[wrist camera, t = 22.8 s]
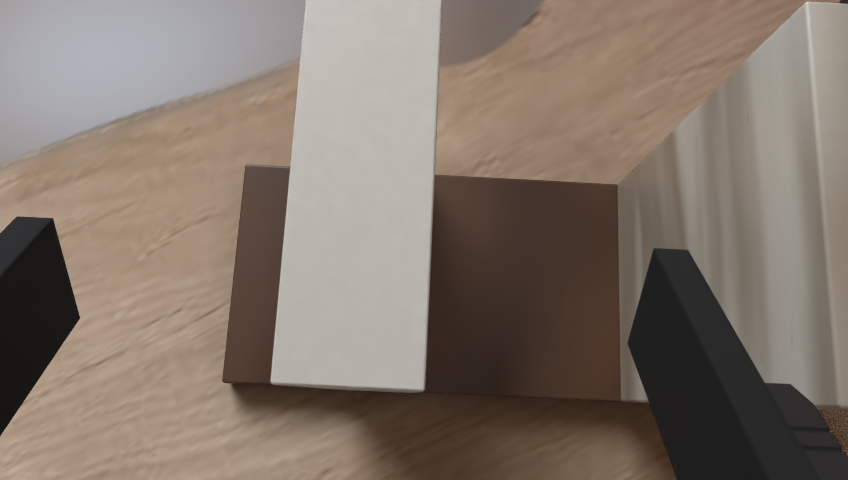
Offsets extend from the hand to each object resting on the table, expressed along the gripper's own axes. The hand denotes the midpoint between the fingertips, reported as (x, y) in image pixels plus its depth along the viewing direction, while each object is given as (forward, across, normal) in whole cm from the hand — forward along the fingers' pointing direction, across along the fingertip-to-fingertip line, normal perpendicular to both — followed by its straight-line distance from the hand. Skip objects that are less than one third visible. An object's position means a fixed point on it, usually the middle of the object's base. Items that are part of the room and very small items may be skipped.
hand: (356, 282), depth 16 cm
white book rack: (+11, +5, -8) cm, 15 cm away
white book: (+10, 0, -7) cm, 12 cm away
